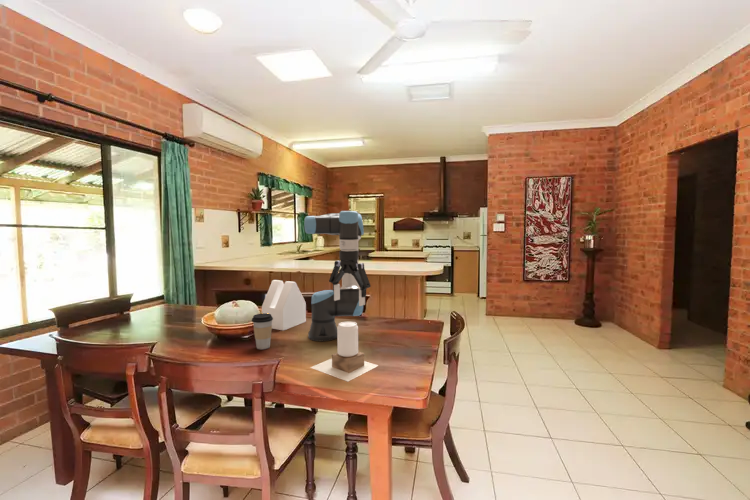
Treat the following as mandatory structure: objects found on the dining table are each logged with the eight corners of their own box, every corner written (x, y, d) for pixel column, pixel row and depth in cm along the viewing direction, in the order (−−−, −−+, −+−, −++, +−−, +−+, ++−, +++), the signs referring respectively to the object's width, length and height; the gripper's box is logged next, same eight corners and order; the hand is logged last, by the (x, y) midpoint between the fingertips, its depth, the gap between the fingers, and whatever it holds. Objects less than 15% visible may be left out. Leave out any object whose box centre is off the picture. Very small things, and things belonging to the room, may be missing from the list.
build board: (310, 370, 136) (310, 367, 136) (341, 356, 150) (341, 354, 150) (348, 384, 124) (348, 381, 124) (378, 368, 138) (378, 365, 138)
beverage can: (337, 350, 141) (337, 321, 140) (357, 349, 141) (357, 320, 140) (337, 358, 133) (336, 327, 132) (358, 357, 133) (358, 326, 132)
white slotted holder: (285, 318, 212) (285, 277, 210) (305, 321, 205) (305, 279, 203) (262, 326, 195) (261, 282, 193) (283, 330, 188) (282, 284, 186)
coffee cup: (277, 345, 165) (277, 313, 164) (265, 351, 156) (264, 319, 155) (260, 342, 168) (260, 312, 167) (247, 349, 159) (246, 317, 158)
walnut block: (331, 367, 136) (331, 354, 136) (347, 360, 144) (347, 348, 143) (349, 373, 131) (348, 360, 131) (364, 365, 138) (364, 353, 138)
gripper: (320, 248, 143) (320, 299, 145) (367, 252, 128) (367, 309, 130) (333, 247, 149) (333, 296, 151) (379, 251, 133) (379, 305, 136)
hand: (349, 302), depth 140 cm, fingers open, 13 cm apart
